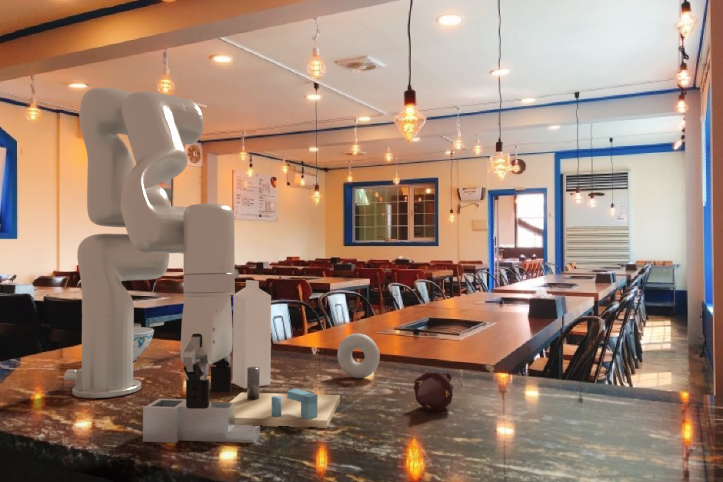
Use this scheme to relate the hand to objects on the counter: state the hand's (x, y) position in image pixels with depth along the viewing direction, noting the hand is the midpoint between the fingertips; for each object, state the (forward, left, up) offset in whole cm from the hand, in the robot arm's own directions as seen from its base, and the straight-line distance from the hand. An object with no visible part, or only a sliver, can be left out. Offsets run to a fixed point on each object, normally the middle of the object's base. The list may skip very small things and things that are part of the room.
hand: (210, 399), depth 85 cm
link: (-1, 0, -6) cm, 6 cm away
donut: (+18, +43, -6) cm, 47 cm away
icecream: (+34, +19, -6) cm, 40 cm away
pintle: (+1, +19, -5) cm, 20 cm away
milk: (-4, +35, -6) cm, 36 cm away
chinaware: (-44, +56, -6) cm, 71 cm away
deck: (+7, +15, -6) cm, 18 cm away
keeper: (+11, +9, -6) cm, 15 cm away
